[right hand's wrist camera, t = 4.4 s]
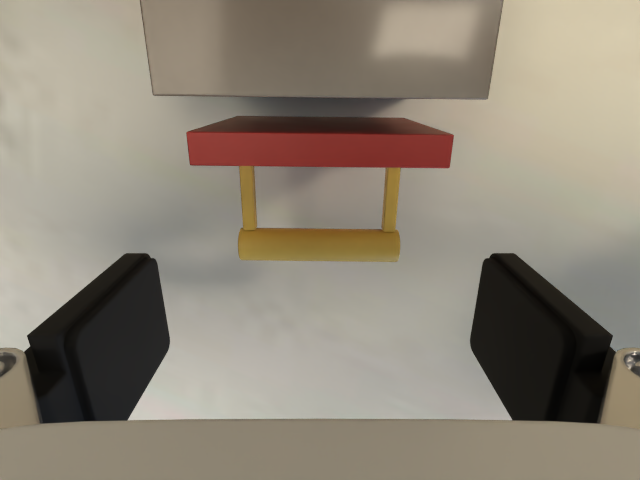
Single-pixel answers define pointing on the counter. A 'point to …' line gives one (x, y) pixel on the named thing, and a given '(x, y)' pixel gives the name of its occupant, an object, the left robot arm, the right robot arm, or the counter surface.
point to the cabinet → (322, 48)
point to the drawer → (319, 151)
